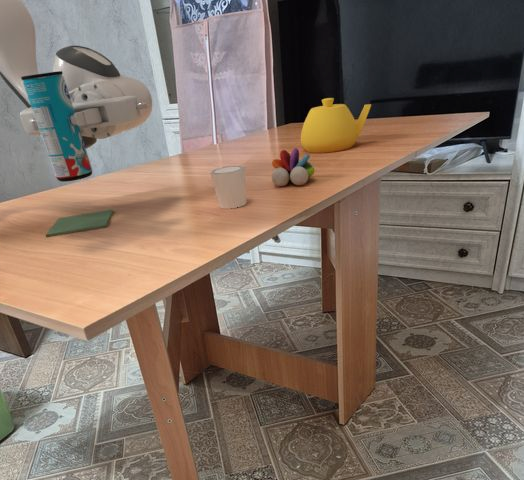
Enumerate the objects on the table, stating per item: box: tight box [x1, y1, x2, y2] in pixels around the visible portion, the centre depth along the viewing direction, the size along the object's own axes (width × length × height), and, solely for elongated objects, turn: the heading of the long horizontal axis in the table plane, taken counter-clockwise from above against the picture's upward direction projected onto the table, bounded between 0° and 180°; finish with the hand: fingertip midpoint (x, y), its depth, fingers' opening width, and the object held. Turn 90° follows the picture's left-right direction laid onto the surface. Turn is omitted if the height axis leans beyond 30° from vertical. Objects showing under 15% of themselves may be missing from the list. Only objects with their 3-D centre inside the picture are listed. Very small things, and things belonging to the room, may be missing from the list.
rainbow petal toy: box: [271, 147, 316, 187], centre depth 104 cm, size 8×10×7 cm
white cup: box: [210, 165, 247, 210], centre depth 94 cm, size 7×7×7 cm
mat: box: [45, 208, 114, 238], centre depth 98 cm, size 12×12×1 cm
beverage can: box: [21, 71, 93, 182], centre depth 73 cm, size 6×6×15 cm
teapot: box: [300, 97, 372, 154], centre depth 133 cm, size 20×19×13 cm
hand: (53, 122), depth 72 cm, fingers closed on beverage can, 6 cm apart
